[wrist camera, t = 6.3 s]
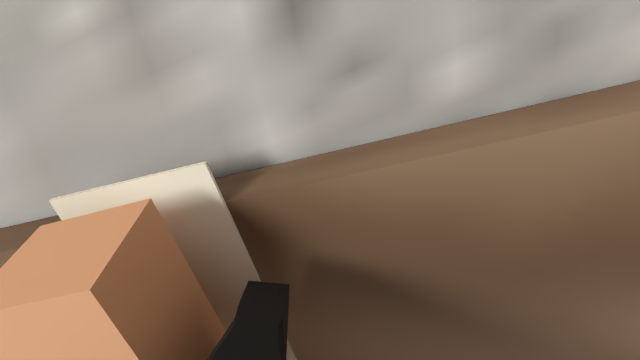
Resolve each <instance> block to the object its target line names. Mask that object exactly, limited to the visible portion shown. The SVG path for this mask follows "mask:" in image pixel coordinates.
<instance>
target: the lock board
mask: <svg viewBox="0 0 640 360" xmlns="http://www.w3.org/2000/svg"><path fill="white" fill-rule="evenodd" d="M149 198H151V199H152V201H153V203H154V205H155V206H156V208H157V210H158V212H159V213H160V215H161V217H162V219H163V221H164V222H165V224H166V226H167V228H168V229H169V231H170V233H171V235H172V237H173V238H174V240H175V242H176V244H177V245H178V247H179V249H180V251H181V253H182V254H183V256H184V258H185V260H186V261H187V263H188V265H189V267H190V269H191V270H192V272H193V274H194V276H195V277H196V279H197V281H198V283H199V285H200V286H201V288H202V290H203V292H204V293H205V295H206V297H207V299H208V301H209V302H210V304H211V306H212V308H213V309H214V311H215V313H216V315H217V317H218V318H219V320H220V322H221V324H222V325H223V327H224V329H225V331H226V330H227V329H228V327H229V326H230V324H231V323H232V321H233V320H234V318H235V316H236V312H237V308H238V305H239V303H240V300H241V297H242V295H243V292H244V290H245V288H246V285H247V283H248V281H259V282H270V283H280V284H290V288H289V310H288V331H287V353H286V359H287V360H640V80H639V81H635V82H631V83H626V84H622V85H618V86H614V87H609V88H605V89H601V90H596V91H592V92H588V93H583V94H579V95H575V96H570V97H566V98H562V99H558V100H553V101H549V102H545V103H540V104H536V105H532V106H527V107H523V108H519V109H514V110H510V111H506V112H501V113H497V114H493V115H489V116H484V117H480V118H476V119H471V120H467V121H463V122H458V123H454V124H450V125H445V126H441V127H437V128H432V129H428V130H424V131H420V132H415V133H411V134H407V135H402V136H398V137H394V138H389V139H385V140H381V141H376V142H372V143H368V144H363V145H359V146H355V147H351V148H346V149H342V150H338V151H333V152H329V153H325V154H320V155H316V156H312V157H307V158H303V159H299V160H295V161H290V162H286V163H282V164H277V165H273V166H269V167H264V168H260V169H256V170H251V171H247V172H243V173H238V174H234V175H230V176H226V177H221V178H217V179H214V176H213V174H212V172H211V170H210V168H209V165H208V163H207V161H205V162H201V163H197V164H192V165H188V166H184V167H180V168H176V169H172V170H167V171H163V172H159V173H155V174H151V175H147V176H143V177H138V178H134V179H130V180H126V181H122V182H118V183H113V184H109V185H105V186H101V187H97V188H93V189H88V190H84V191H80V192H76V193H72V194H68V195H64V196H59V197H55V198H51V199H50V200H49V202H50V204H51V205H52V207H53V208H54V210H55V211H56V213H57V214H58V215H57V216H53V217H49V218H44V219H40V220H36V221H32V222H27V223H23V224H19V225H14V226H10V227H6V228H1V229H0V268H1V267H2V266H3V265H4V264H5V263H6V262H7V261H8V260H9V259H10V258H11V257H12V255H13V254H14V253H15V252H16V251H17V250H18V249H19V248H20V247H21V246H22V245H23V244H24V243H25V242H26V241H27V239H28V238H29V237H30V236H31V235H32V234H33V233H34V232H35V231H36V230H37V229H38V228H39V227H40V226H42V225H46V224H50V223H54V222H58V221H62V220H66V219H70V218H74V217H78V216H82V215H86V214H90V213H94V212H98V211H102V210H106V209H110V208H114V207H118V206H122V205H126V204H130V203H134V202H138V201H141V200H145V199H149Z"/></svg>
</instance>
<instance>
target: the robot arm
mask: <svg viewBox="0 0 640 360" xmlns="http://www.w3.org/2000/svg"><path fill="white" fill-rule="evenodd" d="M289 288H290V284H280V283H270V282H259V281H248V283H247V285H246V288H245V290H244V292H243V295H242V297H241V300H240V303H239V305H238V308H237V312H236V316H235V318H234V320H233V321H232V323H231V324H230V326H229V327H228V329H227V330H226V332H225V333H224V335H223V337H222V338H221V339H220V341H219V342H218V344H217V345H216V347H215V348H214V349H213V351H212V352H211V354H210V355H209V356H208V358H207V359H206V360H287V359H286V353H287V331H288V310H289Z"/></svg>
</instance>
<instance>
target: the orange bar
mask: <svg viewBox="0 0 640 360" xmlns="http://www.w3.org/2000/svg"><path fill="white" fill-rule="evenodd" d="M225 332H226V331H225V329H224V327H223V325H222V324H221V322H220V320H219V318H218V317H217V315H216V313H215V311H214V309H213V308H212V306H211V304H210V302H209V301H208V299H207V297H206V295H205V293H204V292H203V290H202V288H201V286H200V285H199V283H198V281H197V279H196V277H195V276H194V274H193V272H192V270H191V269H190V267H189V265H188V263H187V261H186V260H185V258H184V256H183V254H182V253H181V251H180V249H179V247H178V245H177V244H176V242H175V240H174V238H173V237H172V235H171V233H170V231H169V229H168V228H167V226H166V224H165V222H164V221H163V219H162V217H161V215H160V213H159V212H158V210H157V208H156V206H155V205H154V203H153V201H152V199H151V198H149V199H145V200H141V201H138V202H134V203H130V204H126V205H122V206H118V207H114V208H110V209H106V210H102V211H98V212H94V213H90V214H86V215H82V216H78V217H74V218H70V219H66V220H62V221H58V222H54V223H50V224H46V225H42V226H40V227H39V228H38V229H37V230H36V231H35V232H34V233H33V234H32V235H31V236H30V237H29V238H28V239H27V241H26V242H25V243H24V244H23V245H22V246H21V247H20V248H19V249H18V250H17V251H16V252H15V253H14V254H13V255H12V257H11V258H10V259H9V260H8V261H7V262H6V263H5V264H4V265H3V266H2V267H1V268H0V360H206V359H207V358H208V356H209V355H210V354H211V352H212V351H213V349H214V348H215V347H216V345H217V344H218V342H219V341H220V339H221V338H222V337H223V335H224V333H225Z"/></svg>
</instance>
